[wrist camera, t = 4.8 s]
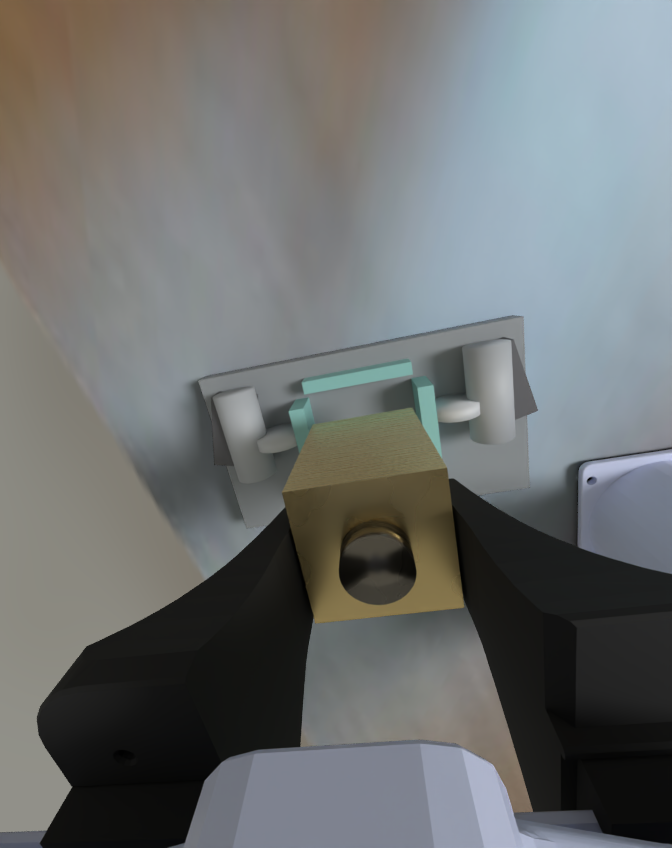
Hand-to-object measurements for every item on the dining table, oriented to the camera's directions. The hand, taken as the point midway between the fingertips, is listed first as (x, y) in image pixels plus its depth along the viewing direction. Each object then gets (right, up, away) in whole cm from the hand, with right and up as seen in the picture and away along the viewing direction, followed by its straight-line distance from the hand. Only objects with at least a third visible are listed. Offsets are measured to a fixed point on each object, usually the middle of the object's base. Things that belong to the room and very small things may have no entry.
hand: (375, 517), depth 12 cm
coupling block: (0, +1, +3) cm, 4 cm away
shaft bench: (+1, +3, +8) cm, 9 cm away
